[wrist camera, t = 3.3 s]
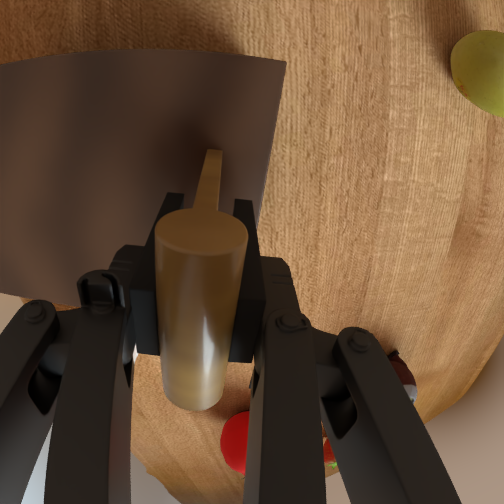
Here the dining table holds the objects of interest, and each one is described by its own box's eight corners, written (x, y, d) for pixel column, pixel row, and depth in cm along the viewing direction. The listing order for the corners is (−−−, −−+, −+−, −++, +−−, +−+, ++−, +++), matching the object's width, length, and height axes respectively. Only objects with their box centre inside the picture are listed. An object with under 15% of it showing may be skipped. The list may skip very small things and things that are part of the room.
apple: (420, 51, 20) (519, 47, 11) (458, 24, 20) (542, 20, 11) (454, 128, 24) (544, 146, 15) (487, 92, 24) (565, 103, 15)
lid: (284, 61, 13) (367, 61, 5) (239, 315, 21) (247, 456, 13) (-43, 76, 10) (-164, 126, 2) (-9, 282, 18) (-69, 379, 10)
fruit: (314, 441, 57) (320, 474, 50) (325, 430, 54) (333, 466, 48) (337, 440, 58) (344, 472, 51) (349, 429, 55) (357, 463, 49)
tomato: (208, 421, 49) (207, 480, 40) (240, 391, 44) (243, 459, 35) (267, 433, 53) (273, 487, 44) (305, 405, 48) (316, 466, 39)
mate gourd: (410, 355, 43) (446, 438, 30) (372, 384, 46) (398, 465, 34) (384, 340, 40) (423, 435, 28) (343, 372, 43) (369, 464, 31)
